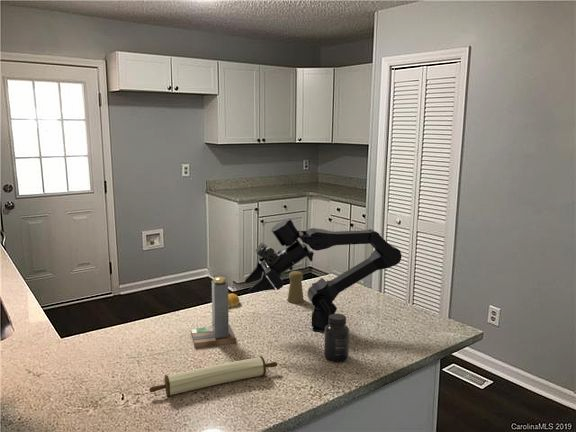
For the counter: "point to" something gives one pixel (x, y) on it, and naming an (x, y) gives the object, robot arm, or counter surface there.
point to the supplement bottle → (336, 339)
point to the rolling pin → (213, 375)
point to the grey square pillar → (220, 307)
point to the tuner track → (210, 337)
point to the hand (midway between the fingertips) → (247, 286)
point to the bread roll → (233, 300)
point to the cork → (295, 287)
